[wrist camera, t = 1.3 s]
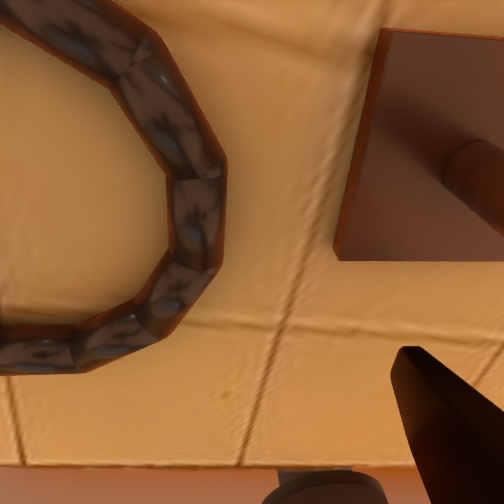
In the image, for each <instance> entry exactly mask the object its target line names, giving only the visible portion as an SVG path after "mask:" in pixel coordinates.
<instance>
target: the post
mask: <svg viewBox="0 0 504 504" xmlns="http://www.w3.org/2000/svg"><path fill="white" fill-rule="evenodd" d="M333 250H334V252H335V254H336V256H337V258H338V260H339V261H500V262H504V37H494V36H481V35H469V34H456V33H444V32H432V31H419V30H407V29H394V28H381V30H380V33H379V38H378V42H377V47H376V52H375V56H374V61H373V65H372V70H371V74H370V79H369V83H368V88H367V93H366V97H365V102H364V106H363V111H362V115H361V120H360V124H359V129H358V134H357V138H356V143H355V147H354V152H353V156H352V161H351V165H350V170H349V175H348V179H347V184H346V188H345V193H344V197H343V202H342V206H341V211H340V216H339V220H338V225H337V229H336V234H335V238H334V243H333Z"/></svg>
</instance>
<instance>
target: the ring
mask: <svg viewBox="0 0 504 504" xmlns="http://www.w3.org/2000/svg"><path fill="white" fill-rule="evenodd" d="M0 24H2V25H3V26H5V27H7V28H8V29H10V30H12V31H13V32H15V33H17V34H18V35H20V36H22V37H23V38H25V39H27V40H28V41H30V42H32V43H33V44H35V45H37V46H38V47H40V48H42V49H43V50H45V51H47V52H48V53H50V54H52V55H53V56H55V57H57V58H58V59H60V60H62V61H63V62H65V63H66V64H68V65H70V66H71V67H73V68H75V69H76V70H78V71H80V72H81V73H83V74H85V75H86V76H88V77H90V78H91V79H93V80H95V81H96V82H98V83H100V84H101V85H103V86H105V87H106V88H108V89H109V90H110V92H111V93H112V95H113V96H114V98H115V99H116V101H117V102H118V104H119V105H120V107H121V108H122V110H123V111H124V113H125V115H126V116H127V118H128V119H129V121H130V122H131V124H132V125H133V127H134V128H135V130H136V131H137V133H138V134H139V136H140V137H141V139H142V140H143V142H144V143H145V145H146V146H147V148H148V149H149V151H150V152H151V154H152V155H153V157H154V158H155V160H156V162H157V163H158V165H159V166H160V168H161V169H162V171H163V172H164V174H165V175H166V194H167V218H168V241H169V248H168V250H167V251H166V253H165V254H164V256H163V257H162V259H161V261H160V262H159V264H158V265H157V267H156V268H155V270H154V271H153V273H152V274H151V276H150V277H149V279H148V280H147V282H146V283H145V285H144V286H143V288H142V289H141V291H140V292H139V294H138V295H137V297H136V298H134V299H132V300H130V301H128V302H125V303H123V304H121V305H119V306H117V307H115V308H112V309H110V310H108V311H106V312H104V313H102V314H99V315H97V316H95V317H93V318H91V319H89V320H86V321H84V322H82V323H80V324H78V325H23V326H0V376H16V375H49V374H80V373H87V372H90V371H92V370H94V369H97V368H99V367H101V366H104V365H106V364H108V363H110V362H113V361H115V360H117V359H120V358H122V357H124V356H127V355H129V354H131V353H133V352H136V351H138V350H140V349H143V348H145V347H147V346H149V345H152V344H154V343H156V342H159V341H161V340H163V339H165V338H167V337H168V336H169V335H170V334H171V333H172V332H173V331H174V330H175V328H176V327H177V326H178V324H179V323H180V322H181V320H182V319H183V318H184V316H185V315H186V314H187V312H188V311H189V310H190V308H191V307H192V306H193V304H194V303H195V302H196V300H197V299H198V298H199V296H200V295H201V294H202V293H203V291H204V290H205V289H206V287H207V286H208V285H209V283H210V282H211V281H212V279H213V278H214V277H215V275H216V274H217V273H218V271H219V270H220V268H221V266H222V263H223V258H224V237H225V216H226V194H227V172H228V163H227V158H226V155H225V153H224V151H223V149H222V147H221V145H220V143H219V142H218V140H217V138H216V136H215V134H214V132H213V131H212V129H211V127H210V125H209V123H208V121H207V120H206V118H205V116H204V114H203V112H202V110H201V109H200V107H199V105H198V103H197V101H196V99H195V98H194V96H193V94H192V92H191V90H190V88H189V87H188V85H187V83H186V81H185V79H184V77H183V76H182V74H181V72H180V70H179V68H178V66H177V65H176V63H175V61H174V59H173V57H172V55H171V54H170V52H169V50H168V48H167V46H166V44H165V43H164V41H163V40H162V38H161V37H160V36H159V35H158V33H157V32H156V31H155V30H153V29H152V28H151V27H149V26H148V25H147V24H145V23H144V22H142V21H141V20H139V19H138V18H136V17H135V16H134V15H132V14H131V13H129V12H128V11H126V10H125V9H123V8H122V7H121V6H119V5H118V4H116V3H115V2H113V1H112V0H0Z"/></svg>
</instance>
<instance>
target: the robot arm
mask: <svg viewBox="0 0 504 504" xmlns="http://www.w3.org/2000/svg"><path fill="white" fill-rule="evenodd" d="M390 376H391V382H392V386H393V390H394V393H395V397H396V401H397V404H398V408H399V412H400V415H401V419H402V423H403V426H404V430H405V434H406V437H407V440H408V444H409V447H410V449H411V452H412V455H413V458H414V460H415V463H416V465H417V468H418V470H419V473H420V476H421V478H422V481H423V483H424V486H425V488H426V491H427V494H428V496H429V499H430V502H431V504H504V411H502V410H501V409H500V408H499V407H497V406H496V405H495V404H493V403H492V402H491V401H490V400H488V399H487V398H486V397H485V396H483V395H482V394H481V393H479V392H478V391H477V390H476V389H474V388H473V387H472V386H470V385H469V384H468V383H467V382H465V381H464V380H463V379H461V378H460V377H459V376H458V375H456V374H455V373H454V372H452V371H451V370H450V369H449V368H447V367H446V366H445V365H443V364H442V363H441V362H440V361H438V360H437V359H436V358H435V357H433V356H432V355H431V354H429V353H428V352H427V351H426V350H424V349H423V348H421V347H419V346H403V347H401V348H400V349H399V351H398V353H397V356H396V358H395V361H394V364H393V366H392V369H391V374H390Z"/></svg>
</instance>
